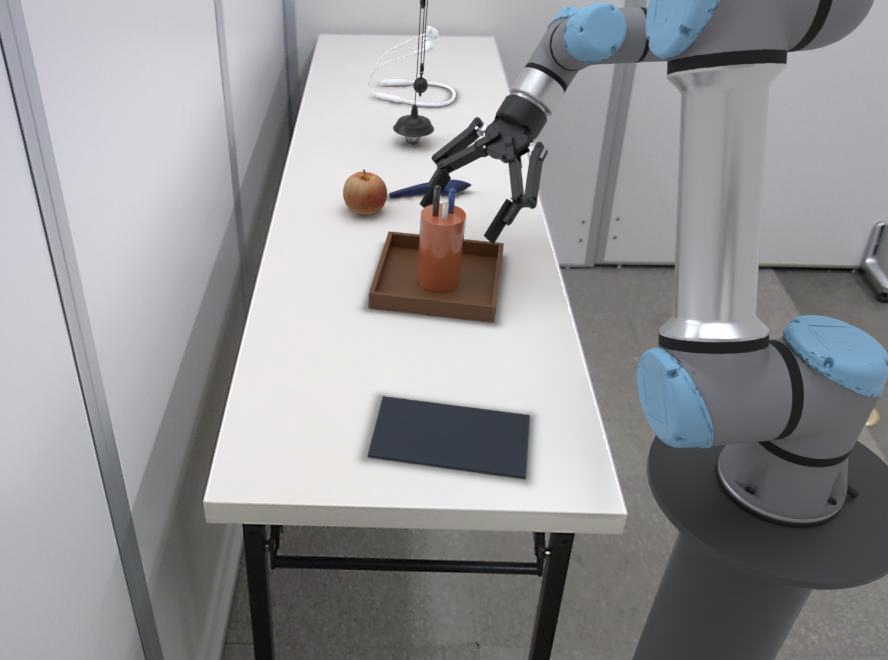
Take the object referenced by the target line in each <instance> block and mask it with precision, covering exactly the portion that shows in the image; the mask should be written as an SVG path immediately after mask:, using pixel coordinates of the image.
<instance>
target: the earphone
mask: <svg viewBox="0 0 888 660" xmlns="http://www.w3.org/2000/svg"><path fill="white" fill-rule="evenodd" d="M439 34H440V33H439V31H438V29H436V28H435V27H433V26H431V25H426V39H425V32H423V46H422V54H424V39H425V54H426V53H431V52H433V51H434V49H435V44H434V43H433V41H431V40H437V39H438V38H439ZM418 38H419V35H418V36H415V37H413V38H410V39H408V40H406V41H404V42H401V43H399V44H397V45H395V46H394V47H392V48H390V49H389V50H387V51H386V52H384V53H383V54H382V55H381V56H380V58H379V59H378V60H377V61H376V64H375V65H374V67H373V69H372V72H371V74H370V75H369V78H368V80H367V87H368V89H369V91H370V93H371V94H373V95H374V96H375V98H376V99H380V100H384V101H387V102H388V101H389V102H394V103H405V104H410V105H414V104H415V100H411V99H405V98H403V97H400V96H398V95H393V94H388V93H384V92H379V91H377V92H376V93H375V92H374V91H373V90H372V89H371V87H370V81H371V79H372V78H373V79H374V80H375V82H376V83H379V84H381V86H385V87H386V86H387V87H388V86H408V85H413V84H414V81H415V80H409V79H401V78H391V79H390V78H386V79H381V80H378V79H376V77H375V73H376V71H377V70H379V69H380V68H381V67H383V66H385V65H388V64H390V63H393V62H396V61H398V60H401V59H403V58H407V57H409V56H418V49H417V50H414V51H413V52H412V53H409V54H405V55H402V56H399V57H395V58H393V59H390V60H388V61H386V62H383V63H382V64H380V65H378V64H379V62H381V60H382V59H383V58H384V57H385V56H386V55H387V54H388V53H390V52H391V51H393V50H395V49H397V48H398V47H400V46H402V45H405V44H407V43H409V42H411V41H414V40H418ZM420 38H421V39H420ZM420 38H419V39H420V44H421V45H422V33H420ZM429 38H430V39H431V40H429ZM419 55H421V48H419ZM427 83H428V86H435V87H441V88H445V89H447V90H449V91H450V92H451V93H452V95H451V98H449V100H446V101H442V102H423V101H416V105H417V106H421V107H444V106H447V105H449V104H452V103H453V102H454V101H455V99H456V96H457V93H456V90H455V88H453V87H452V86H451V85H448V84H446V83H443V82H436V81H428V80H427Z"/></svg>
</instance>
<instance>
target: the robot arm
mask: <svg viewBox="0 0 888 660" xmlns="http://www.w3.org/2000/svg"><path fill="white" fill-rule="evenodd" d="M874 2H875V0H648V3H647V7H645V6H644V7H643V6H637V7H617V6H615V5H614V4H611V3H610V2H605V1H600V2H598V1H597V2H594V3H591V4H588V5H585V6H584V7H581V8H580V7H577V6H573V7H572V6H565V7H563V8H561V9H560V10H559V11H558V13H557V14H556V15H555V16H554V18H553V20H552V21H550V22H549V23H548V26H546V27H547V28H546V31H545V33H544V35H543V36H542V37H541V39H540V41H539V42H538V44H537V46H536V47H535V49H534V51H533V52H532V54H531V56H530V57H529V59H528V61H527V62H526V64H525V66H524V67H523V68H522V70H521V71H520V74H518V76H517V77H516V79H515V80H514V83H513V84H512V86H511V87H510V89H509V93H510V94H508V95H506V96H505V97H504V99H503V100H502V102H501V104H500V105H499V106H498V109H497V111H496V113H495V115H494V118H493V121H492V122H491V123H489V124H488V123H486V122H484V121H483V120H482V119H481V117H479V116H476V117H474V118H473V119H472V121H471V123H469V125H468V126H467V127H466V128H465V129H464V130H462V131H461V132H460V133H459V134H458V135H456V136H455V137H454V138H452V139H451V140H450V141H449V142H447V143H446V144H445V145H444V146H442V147H441V148H440V149H439V150H437V151H435V153H433V154H432V156H431V158H430V159H431V160H432V162H433V164H435V165H436V169H435V171H434V172H433V174H432V176H430V179H429V181H427V182H428V186H429V189H428V190H427V192H426V194H423V197H422V199H421V200H420V202H419V205H420V206H421V207H422V209H424V208H425V207H427V206H429V205H432V204H433V196H434V187H435V186H436V185H439V186H440V187H441V191H440V196H442V195H441V194H442V192H443V190H444V189H445V187H446V185H447V184H448V182H449V181H450V179H452V177H451V175H450V174H451V173H454V172H455V171H457V170H459V169H461V168H463V167H465V166H467V165H469V164H471V163H473V162H475V161H477V160H479V159H481V158H486V157H488V156H489V157H490V158H491V159H494V160H499V161H500V162H502V163H503V164H508V174H509V184H510V193H511V196H510V197H509V198H510V199H508V198H505V200H504V202H503V203H502V205H501V207H500V208H499V210H498V212H497V213H496V214H495V216H494V218H493V219H492V221H491V223H490V224H489V226H488V227H487V229H486V231H485V232H484V234H483V237H484V238H485V239H486V241H489V242H491V243H493V244H494V243H495V242H496V241H498V238H499V236H500V235H501V233H502V231H504V229H505V227H506V226H509V227H510V226H511V225H512V224H513V223H514V220H515V219H516V218H517V216H518V214H519V213H520V211H521V210H522V209H525V208H527V209H528V208H529V209H531V210H534V209H536V208H537V206H538V199H539V193H540V185H541V177H542V172H543V171H542V170H543V163H544V161H545V160H546V157H547V155H548V154H549V151H548V149H547V148H546V145H544V143H543V142H542V141H537V142H534V140H536V139H538V137H539V135H540V134H541V132H542V131H543V129H544V127H545V126H546V124H547V123H548V117H550V116H552V114H553V112H554V111H555V109H556V108H557V106H558V105H559V103H560V102H561V99H562V98H563V96H564V95H565V93H566V92H567V89H569V86H570V85H571V83H572V82H573V81H574V79H575V77H576V76H577V74H578V73H579V71H581V70H583V69H586V68H588V67H590V66H597V65H598V66H599V65H617V64H619V65H620V64H635V63H658V62H662V63H663V62H666V79H667V80H668V81H669V82H670V83H671V84H672V85H673V86H674V87H675V88H676V89H677V90H678V92H679V94H680V115H679V116H680V118H679V143H678V144H679V146H678V148H679V149H678V169H677V170H678V173H677V175H678V176H677V196H676V197H677V200H676V201H677V202H676V224H675V225H676V227H675V228H676V229H675V257H674V259H675V260H674V283H673V311H672V312H673V313H672V314H671V317H670V318H668V319H667V320H666V321H665V322H664V323H663V324H662V325H661V326H660V327H659V328H658V341H657V347H651V348H650V349H648V350H645V352H643V353H642V355H640V358H639V362H638V364H637V367H636V387H637V394H638V399H639V404H640V407H641V410H642V413H643V416H644V417H645V419H646V422H647V424H648V425H649V427H650V429H651V430H652V432H653V433H654V435H655V436H657V437H658V438H659V439H660V440H661V441H663V442H664V443H666V444H667V445H669V446H672V447H676V448H691V447H700V448H710V447H711V446H720V445H726V446H725V447H724V448H723V450H722V451H721V453H720V456H719V459H718V461H717V464H716V477H717V480H718V483H719V485H720V487H721V488H722V490H723V491H724V493H725V494H726V495H727V496H728V497H729V498H730V499H731V500H732V501H733V502H734V503H735V504H736V505H737V506H739V507H740V508H742V509H743V510H744V511H746V512H748V513H749V514H751V515H753V516H755V517H757V518H759V519H762V520H764V521H767V522H770V523H773V524H777V525H781V526H786V527H795V528H807V527H814V526H819V525H822V524H825V523H827V522H829V521H830V520H832V519H833V518H834V517H835V516H836V515H837V514H838V513H839V511H840V509H841V507H842V505H843V503H844V501H845V498H846V494H849V495H850V496H851V497H852V498H856V497H857V496H858V495H859V492H857V491H856V490H855V489H854V488H852V487H851V486H850V485H849V484H848V483H847V482H848V457H849V454H850V453H851V451H852V449H853V447H854V445H855V443H856V441H858V440H859V437H860V435H861V434H862V431H863V429H864V428H865V426H866V424H867V423H868V420H869V418H870V416H871V414H872V413H873V411H874V409H875V407H876V405H877V403H878V402H879V399H880V397H882V395H883V394H884V391H885V386H886V385H885V384H886V382H887V380H888V352H887V351H886V349H885V347H884V346H883V345H882V344H881V343H880V342H879V341H877V339H876V338H874V337H873V336H872V335H870V334H869V333H867V332H866V331H864V330H863V329H861V328H859V327H857V326H855V325H852V324H850V323H848V322H846V321H843V320H840V319H837V318H833V317H829V316H825V315H818V314H817V315H816V314H806V315H801V316H797V317H794V318H793V319H791V321H790V322H789V323H788V324H787V325H786V326H785V327H783V330H782V334H783V335H782V336H781V337H779V338H773V339H770V334H771V333H770V328H769V327H768V326H767V325H766V324H765V323H764V322H762V320H761V319H759V318H758V316H757V302H758V301H757V299H758V285H759V284H758V282H759V266H760V265H759V264H760V247H761V233H762V232H761V231H762V230H761V229H762V215H763V214H762V213H763V199H764V198H763V197H764V180H765V165H766V145H767V131H768V116H769V115H768V114H769V97H770V96H769V95H770V88H771V86H772V84H773V82H774V81H775V80H777V79H778V78H779V76H780V75H782V73H783V72H785V70H786V69H787V66H788V65H787V63H788V53H794V52H805V51H812V50H817V49H823V48H824V47H827V46H830V45H833V44H835V43H838V42H839V41H841V40H843V39H844V38H846V37H847V36H848V35H851V34H852V33H853V32H854V31H855V30H856V29H857V28H858V27H859V26H860V25H861V24H862V22H864V20H865V19H866V18H867V16H868V15H869V13H870V11H871V9H872V7H873V5H874ZM480 137H481V138H480ZM526 154H529V160H528V166H527V172H526V173H527V174H526V179H525V180H526V181H525V187H524V181H523V180H524V179H523V171H522V169H523V163H522V157H523V156H524V155H526Z"/></svg>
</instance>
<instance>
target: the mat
mask: <svg viewBox="0 0 888 660" xmlns="http://www.w3.org/2000/svg"><path fill="white" fill-rule="evenodd" d="M375 421H376V422H375V424H374V425H375V426H374V429H373V434H372V437H371V441H370V443H369V444H370V445H369V449H368V452H367V457H368V458H371V459H379V460H387V461H392V462H393V461H394V462H399V463H408V464H415V465H422V466H429V467H438V468H444V469H451V470H458V471H464V472H465V471H466V472H471V473H472V472H473V473H481V474H486V475H492V476H493V475H495V476H502V477H509V478H516V479H523V480H526V478H527V462H528V448H529V447H528V445H529V430H530V429H529V428H530V414H524V413H517V412H510V411H502V410H493V409H487V408H478V407H470V406H464V405H455V404H447V403H439V402H432V401H424V400H415V399H408V398H400V397H393V396H385V395H383V396H382V398H381V402H380V406H379V410H378V413H377V418H376V420H375Z"/></svg>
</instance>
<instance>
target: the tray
mask: <svg viewBox="0 0 888 660" xmlns="http://www.w3.org/2000/svg"><path fill="white" fill-rule="evenodd" d="M385 238H386V239H385V241H384V244H383V248H382V251H381V254H380V257H379V260H378V263H377V267H376V268H375V269H376V270H375V273H374V276H373V279H372V281H371V285H370V288H369V292H368V306H367V307H368V309H373V310H379V311H380V310H381V311H391V312H397V313H407V314H417V315H423V316H424V315H425V316H432V317H433V316H434V317H442V318H450V319H458V320H467V321H476V322H485V323H495V318H496V311H497V303H498V295H499V288H500V287H499V286H500V279H501V271H502V262H503V255H504V254H503V253H504V245H505V243H504V242H498V241H497V242H496V241H495V243H494V244H493V243H491V242H490V241H488V240H479V239H478V240H476V239H470V238H469V239H467V238H464V243H463V253H462V262H461V272H460V282H459V285H458V286H457V287H456V288H454V289H452V290H450V291H445V292H435V291H430V290H427V289H424V288H423V287H421V286H420V285H419V284H418V282H417V264H418V249H419V233H410V232H400V231H388V233H387V235H386V237H385Z"/></svg>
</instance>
